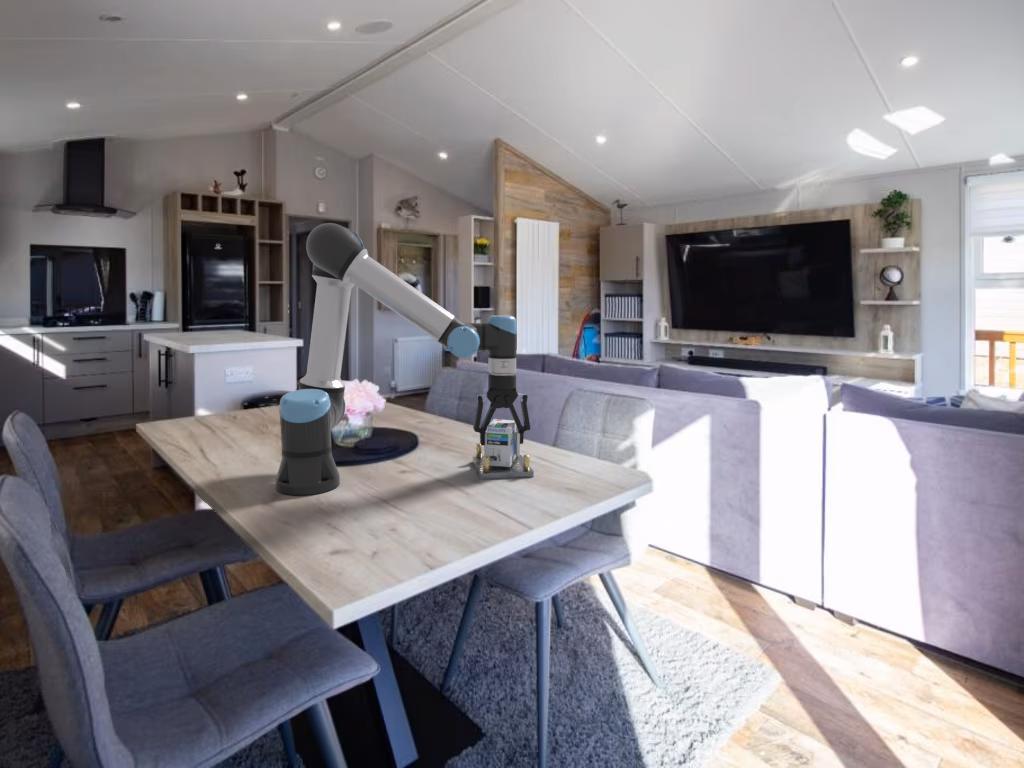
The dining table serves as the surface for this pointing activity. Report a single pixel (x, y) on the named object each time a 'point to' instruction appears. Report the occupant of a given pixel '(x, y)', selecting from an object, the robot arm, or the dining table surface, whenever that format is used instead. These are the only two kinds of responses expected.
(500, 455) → the light bulb box
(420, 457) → the dining table surface
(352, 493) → the dining table surface
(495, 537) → the dining table surface
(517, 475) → the chassis
